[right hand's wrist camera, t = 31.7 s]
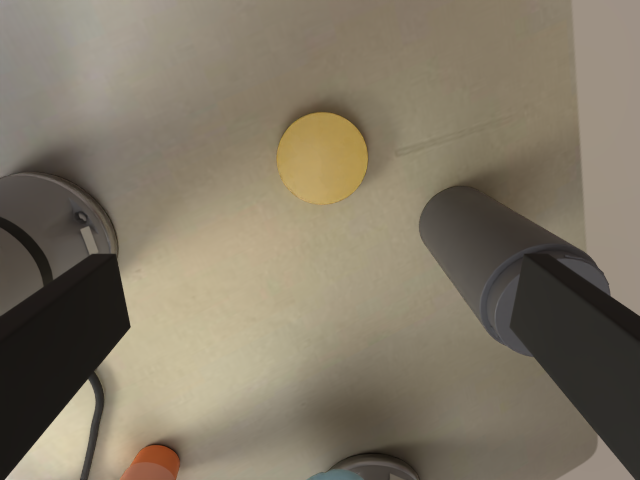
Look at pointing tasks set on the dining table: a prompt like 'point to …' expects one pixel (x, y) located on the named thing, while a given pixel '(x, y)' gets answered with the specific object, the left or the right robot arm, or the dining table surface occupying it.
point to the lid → (322, 158)
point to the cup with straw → (153, 464)
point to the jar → (492, 254)
